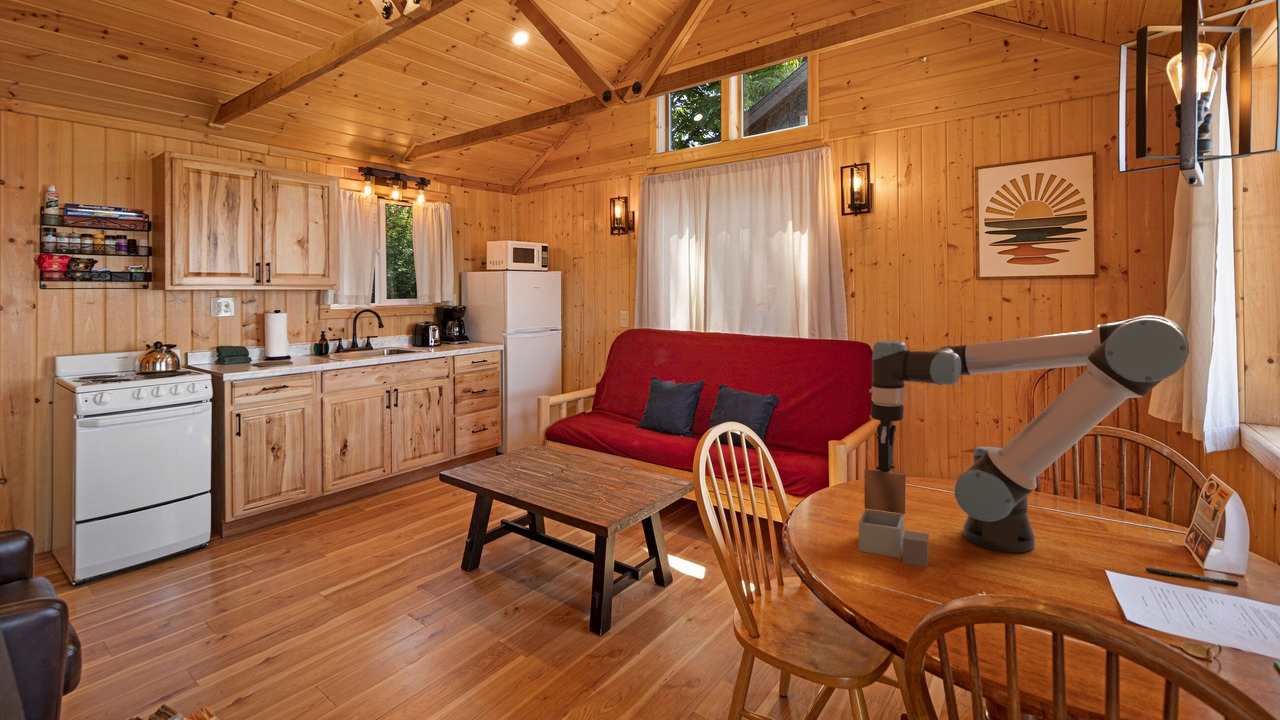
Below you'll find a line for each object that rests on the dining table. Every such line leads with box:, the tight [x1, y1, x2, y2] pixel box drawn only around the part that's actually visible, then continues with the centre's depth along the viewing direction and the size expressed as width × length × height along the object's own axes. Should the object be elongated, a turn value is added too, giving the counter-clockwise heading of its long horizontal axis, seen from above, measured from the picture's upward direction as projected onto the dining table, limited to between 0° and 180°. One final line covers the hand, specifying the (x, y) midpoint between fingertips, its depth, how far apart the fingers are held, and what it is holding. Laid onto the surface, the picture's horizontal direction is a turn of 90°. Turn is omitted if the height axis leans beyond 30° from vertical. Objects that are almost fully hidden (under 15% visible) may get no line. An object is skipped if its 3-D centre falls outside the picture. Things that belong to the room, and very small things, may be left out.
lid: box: [864, 469, 907, 515], centre depth 150 cm, size 9×10×1 cm
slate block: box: [902, 529, 930, 568], centre depth 139 cm, size 5×5×6 cm
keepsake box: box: [857, 508, 905, 559], centre depth 147 cm, size 9×10×7 cm
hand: (884, 494), depth 154 cm, fingers closed
